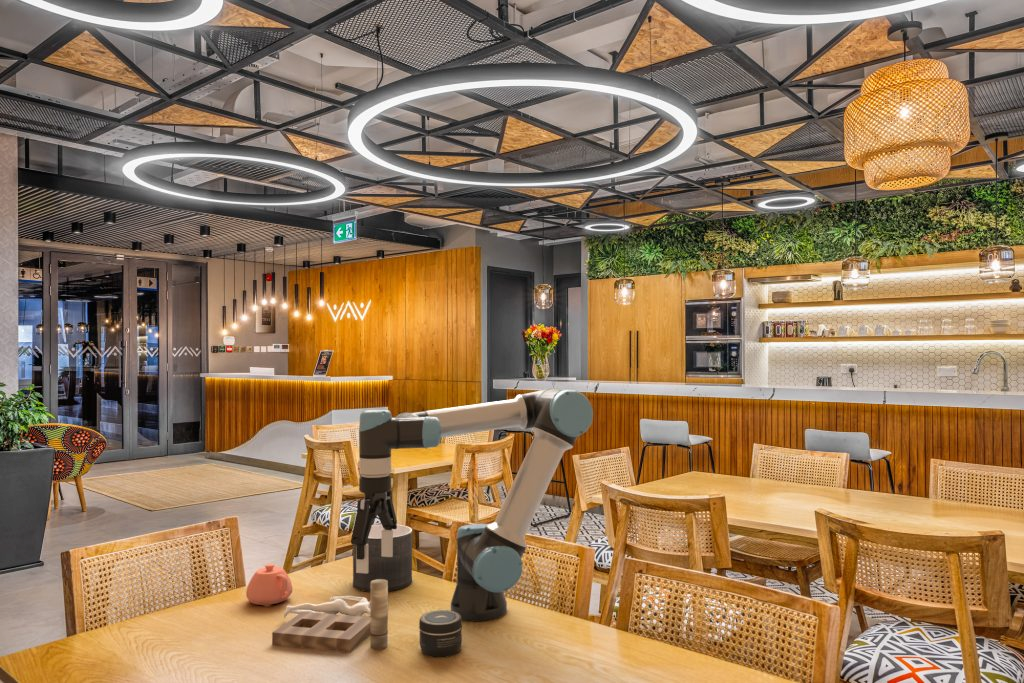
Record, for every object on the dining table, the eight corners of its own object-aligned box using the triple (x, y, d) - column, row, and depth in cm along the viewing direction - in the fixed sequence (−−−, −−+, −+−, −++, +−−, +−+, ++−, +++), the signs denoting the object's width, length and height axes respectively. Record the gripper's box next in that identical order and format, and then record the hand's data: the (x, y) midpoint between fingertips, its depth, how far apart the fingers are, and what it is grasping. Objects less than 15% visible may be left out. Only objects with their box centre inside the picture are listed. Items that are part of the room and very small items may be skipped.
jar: (414, 645, 164) (414, 612, 165) (454, 638, 168) (454, 606, 168) (426, 662, 155) (426, 627, 155) (468, 654, 159) (468, 621, 159)
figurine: (284, 631, 179) (382, 624, 183) (281, 623, 175) (382, 617, 179) (287, 601, 184) (383, 596, 188) (285, 593, 180) (382, 588, 184)
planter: (343, 591, 204) (343, 537, 204) (365, 573, 221) (365, 523, 222) (401, 594, 201) (401, 539, 201) (419, 575, 218) (419, 525, 219)
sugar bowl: (274, 591, 204) (275, 556, 204) (305, 600, 196) (305, 564, 196) (237, 603, 194) (237, 566, 194) (267, 613, 186) (267, 575, 186)
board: (375, 629, 174) (375, 617, 174) (349, 652, 160) (350, 639, 160) (302, 623, 178) (302, 611, 178) (272, 645, 165) (272, 632, 165)
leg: (390, 643, 166) (390, 579, 166) (383, 650, 162) (383, 585, 162) (374, 641, 167) (374, 578, 167) (367, 648, 162) (367, 584, 163)
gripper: (382, 466, 179) (382, 549, 178) (335, 483, 155) (335, 579, 154) (409, 467, 177) (410, 551, 177) (366, 484, 153) (366, 581, 152)
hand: (375, 564), depth 165 cm, fingers open, 13 cm apart
